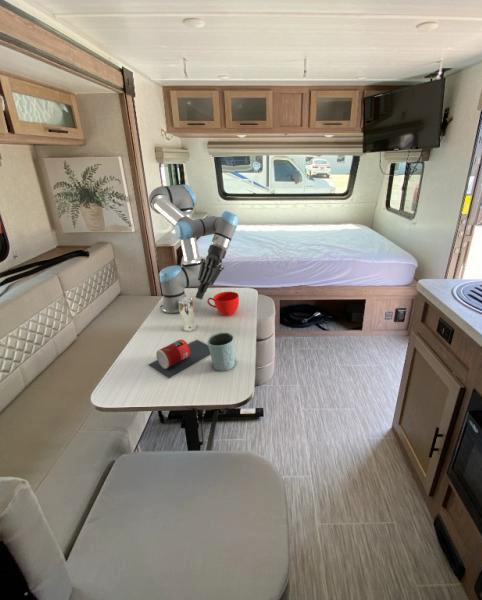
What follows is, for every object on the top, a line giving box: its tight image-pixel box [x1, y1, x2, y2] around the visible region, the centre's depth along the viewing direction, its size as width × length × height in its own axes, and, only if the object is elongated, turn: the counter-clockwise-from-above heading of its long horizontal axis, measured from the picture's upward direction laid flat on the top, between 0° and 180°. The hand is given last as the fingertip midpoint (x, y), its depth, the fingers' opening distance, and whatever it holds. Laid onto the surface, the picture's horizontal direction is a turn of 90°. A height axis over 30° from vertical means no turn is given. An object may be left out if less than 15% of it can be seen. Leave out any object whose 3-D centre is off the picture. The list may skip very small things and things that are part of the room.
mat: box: [148, 339, 211, 379], centre depth 135 cm, size 24×14×1 cm, turn 140°
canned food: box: [155, 339, 190, 369], centre depth 130 cm, size 8×8×11 cm
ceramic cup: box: [206, 291, 240, 317], centre depth 171 cm, size 13×17×10 cm
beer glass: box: [178, 297, 197, 332], centre depth 156 cm, size 7×7×15 cm
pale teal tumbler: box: [206, 332, 236, 372], centre depth 126 cm, size 10×10×12 cm
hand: (198, 298), depth 138 cm, fingers closed
